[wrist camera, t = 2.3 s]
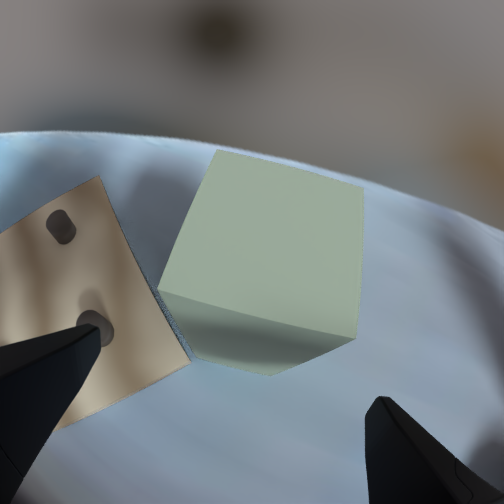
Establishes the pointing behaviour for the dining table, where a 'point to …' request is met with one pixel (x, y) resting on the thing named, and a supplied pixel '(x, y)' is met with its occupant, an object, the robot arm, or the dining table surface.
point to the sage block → (266, 265)
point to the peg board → (85, 296)
